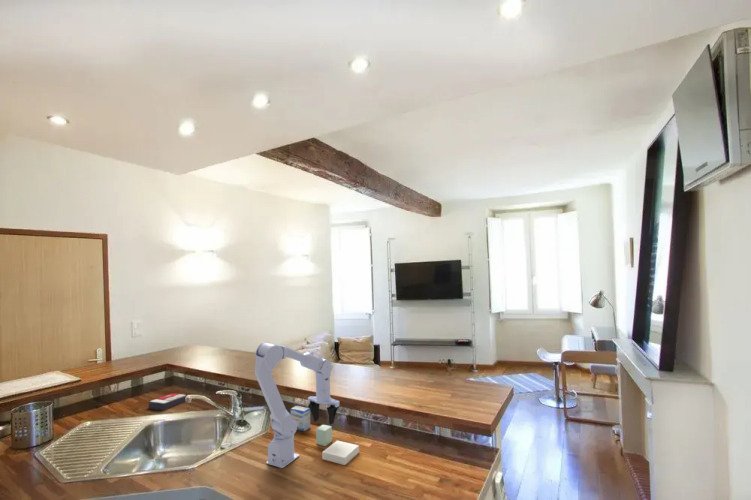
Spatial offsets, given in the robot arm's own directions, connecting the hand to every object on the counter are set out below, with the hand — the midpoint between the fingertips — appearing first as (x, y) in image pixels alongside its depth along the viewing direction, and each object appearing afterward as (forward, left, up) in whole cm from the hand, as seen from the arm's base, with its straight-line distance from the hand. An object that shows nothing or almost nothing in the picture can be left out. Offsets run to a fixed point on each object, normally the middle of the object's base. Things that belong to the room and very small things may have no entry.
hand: (323, 422), depth 149 cm
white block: (-6, -12, -9) cm, 16 cm away
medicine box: (+7, +18, -8) cm, 21 cm away
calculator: (+1, +104, -9) cm, 104 cm away
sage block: (0, 0, -8) cm, 8 cm away
